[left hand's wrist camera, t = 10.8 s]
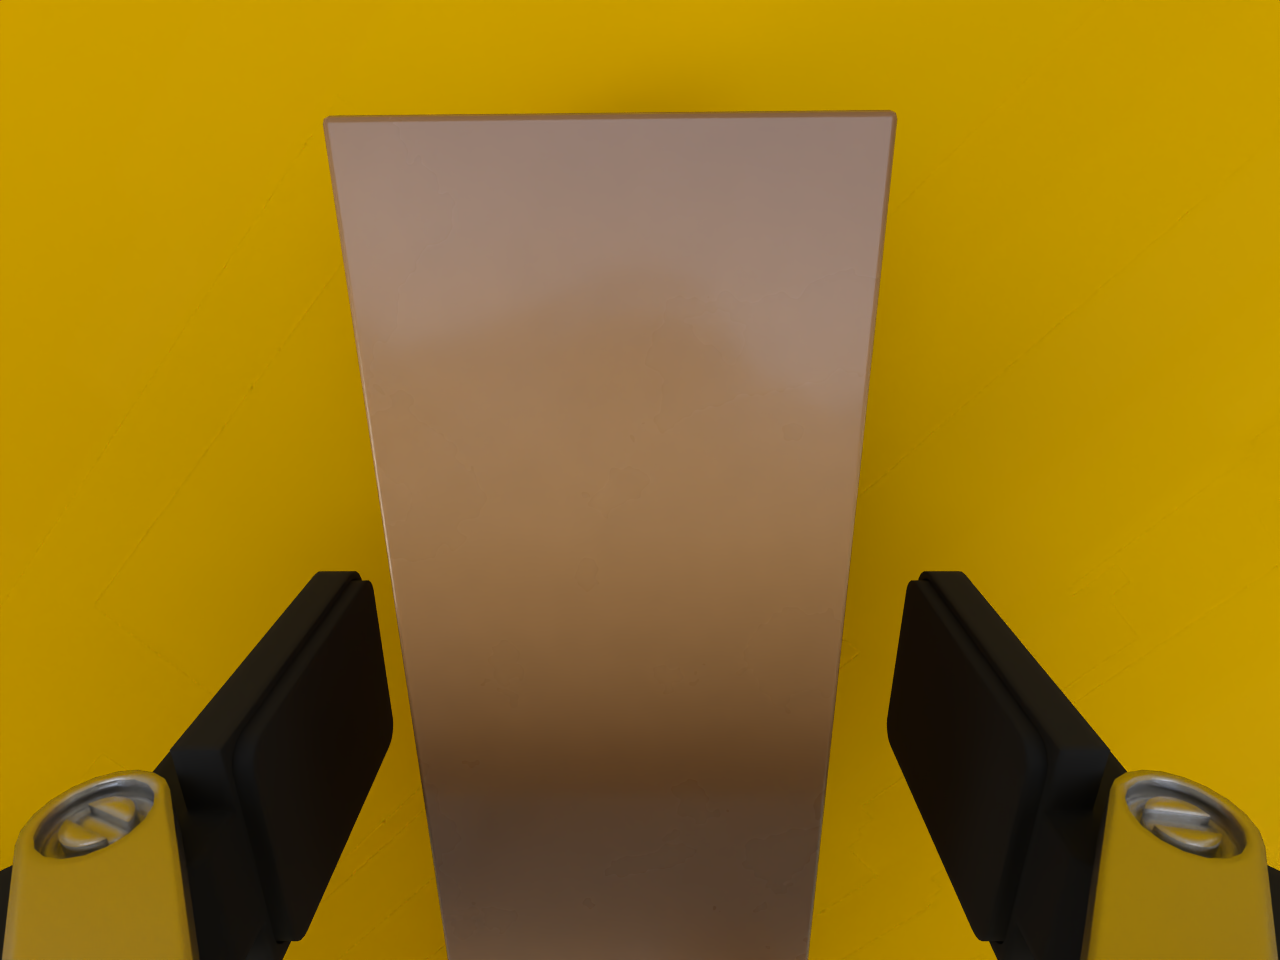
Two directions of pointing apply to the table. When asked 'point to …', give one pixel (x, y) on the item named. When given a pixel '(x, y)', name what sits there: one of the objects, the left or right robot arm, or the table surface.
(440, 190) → the post
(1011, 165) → the table surface
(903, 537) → the table surface
